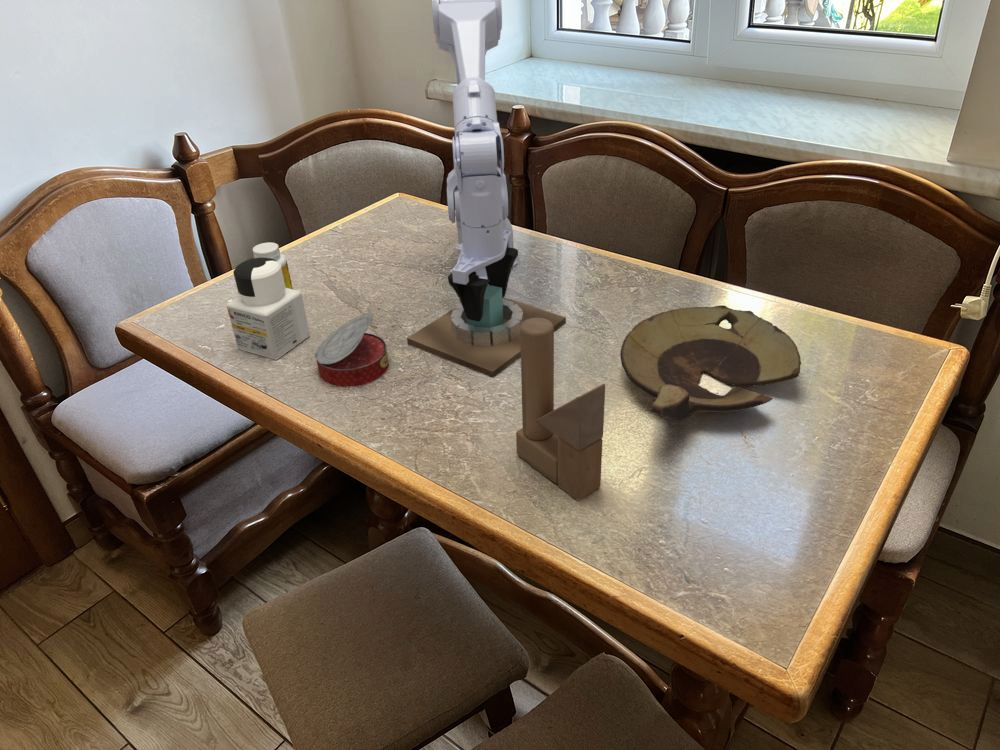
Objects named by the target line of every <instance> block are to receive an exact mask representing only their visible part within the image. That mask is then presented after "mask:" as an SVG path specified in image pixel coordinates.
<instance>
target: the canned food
mask: <svg viewBox="0 0 1000 750" xmlns="http://www.w3.org/2000/svg"><path fill="white" fill-rule="evenodd" d="M373 318H374V313H373V312H371V311H370V312H367V313H364V314H363V313H362V315H360V316H357V317H355V318H352V319H351V320H349V321H348V322H346V323H344V324H342V325H341V326H339V327H338V328H337V329H336V330H334V331H333V332H331V333H330V334H329V335H328V336H327V338H325V340H324V341H322V342H321V343H320V345H319V346H318V348H317V349H316V351H315V356H314V357H315V360H316V364H317V369H318V375H319V377H320V378H322V379H323V380H324V382H325V383H326V382H327V384H328V383H329V384H328V385H330V384H331V385H330V386H334V385H335V387H339V386H341V387H342V388H351V387H350V386H354V387H359V385H360V386H364V385H367V384H370V383H373V382H374V381H377V380H378V379H380V378H381V377H382V376H383V375H385V374H386V373H387V371H388V369H389V365H390V364H389V363H390V362H389V357H388V355H389V354H388V348H387V343H386V342H385V340H384V339H383V338H381V336H378V335H376V334H373V333H370V332H369V333H368V332H366V331H367V330H368V329H369V327H370V326H371V325H372V323H373ZM379 377H380V378H379ZM322 379H321V380H322ZM376 379H377V380H376ZM323 380H322V381H323ZM347 386H348V387H347Z"/></svg>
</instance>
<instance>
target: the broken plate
mask: <svg viewBox="0 0 1000 750" xmlns="http://www.w3.org/2000/svg"><path fill="white" fill-rule="evenodd" d="M723 321H727V322H728V324H730V325H731V326H730V328H726V327H722V326H720V324H721V323H722V322H723ZM793 340H794V339H792V338H791V336H790V335H789V334H787V333H786V332H785V331H783V330H782V329H781V328H779V327H778V326H777V325H773V323H772V322H770V321H768V320H765V319H764V318H762V317H759V316H758V315H756V314H755V313H754V312H753V311H752V310H741V309H733V308H730V307H728V306H726V305H722V304H721V305H715V306H693V307H682V308H681V307H679V308H676V309H671V310H667V311H662V312H660V313H659V312H658V313H656V314H654V315H651V316H650V317H647V318H645V319H643V320H640V321H639V322H638V323H637V324H635V326H633V328H632V330H630V331H629V332H628V333H627V335H626V336H625V337H624V340H623V342H622V344H621V348H620V363H621V366H622V368H623V369H622V370H624V372H625V374H626V376H627V377H628V379H629V380H630V381H631V382H632V384H634V385H635V386H636V387H637V388H638V389H640V390H642V391H643V392H645V393H646V394H648V395H649V396H650V397H652V398H653V399H655V400H654V401H653V402H652V404H651V409H650V411H651V412H652V414H655V415H658V416H661V417H664V418H667V419H668V420H671V421H673V422H682V421H684V420H686V419H687V418H688V417H689V416H691V415H692V414H695V413H701V412H703V413H704V412H705V413H706V412H712V413H713V412H716V413H721V412H722V413H727V412H736V411H737V412H738V411H742V410H747V409H751V408H755V407H758V406H761V405H764V404H767V403H769V402H771V401H772V400H773V397H772V396H769V395H765V394H764V393H757V392H755V391H750V390H748V389H746V388H750V387H751V388H752V387H756V386H766V385H770V384H775V383H782V382H785V381H790V380H792V379H796V378H798V377H799V375H800V372H801V365H802V361H801V355H800V352H799V350H798V349H799V348H798V346H797V344H796V343H795V341H793ZM703 373H707V374H708V375H710V376H711V377H713V378H715V379H716V380H718V381H720V382H722V383H724V384H726V385H729V386H733V387H732V388H731V389H729V391H728V392H726V393H725V394H723V395H719V393H718V392H715V393H714V392H711V391H710V390H709V389H707V388H705V387H702V386H701V385H699V383H700V380H701V377H702V374H703ZM742 387H744V388H745V389H744V388H742Z"/></svg>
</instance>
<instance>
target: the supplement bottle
mask: <svg viewBox="0 0 1000 750" xmlns="http://www.w3.org/2000/svg"><path fill="white" fill-rule="evenodd" d="M252 253H253V258H261V257H262V258H271V259H275V260H276V261H278V262H279V263H280V264H281V269H282V273H283V278H284V283H285V287H286V288H289V289H293V284H292V279H291V274H290V269H289V265H288V261H287V257H286V256H285V255H284V254H282V253H281V251H280V247H279V244H277V243H275V242H262V243H259V244H256V245H255V246H253V247H252ZM293 290H294V289H293Z"/></svg>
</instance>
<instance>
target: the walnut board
mask: <svg viewBox="0 0 1000 750" xmlns="http://www.w3.org/2000/svg"><path fill="white" fill-rule="evenodd" d="M502 299H505V300H508V301H511V302H514V303H515V304H517V305H518V306H519V307H520V308H521V309H522V310H523V322H524V321H525V320H527V319H530V318H544V319H547V320H549V321H551V322H552V324H553V326H554V333H555V332H556V331H558V330H560V328H561V327H563V326H564V325H565V324H566V323H567V320H566V319H567V317H566V316H563V315H559V314H557V313H555V312H554V313H553V312H551V311H548V310H546V309H545V310H544V309H542V308H538V307H535V306H532V305H529V304H526V303H523V302H519V301H517V300H513V299H512V298H511V299H510V298H508V297H506V296H505V297H504V298H502ZM461 304H462V303H460V304H459V305H461ZM453 310H455V309H454V308H452V309H451V310H450V311H448V312H446V313H444V314H443V315H441V316H439V317H438V318H436V319H435V320H434V321H432V322H430V323H429V324H427V325H425V326H424V327H422V328H420V329H419V330H417V331H415V332H414V333H413V334H411V335H410V336H408V337H406V342H407V345H410V346H412V347H414V348H418V349H420V350H421V351H425V352H427V353H429V354H432V355H435V356H437V357H440V358H442V359H444V360H447V361H449V362H450V361H451V362H452V363H455V364H457V365H460V366H463V367H464V368H468V369H469V370H473V371H475V372H478V373H480V374H482V375H485V376H487V377H490V378H493V379H494V378H495V377H496V376H497V375H499V374H500V373H502V372H503V371H504V370H505V369H507V368H508V367H510V366H511V365H512V364H513V363H515V362H516V361H518V360H519V359H521V346H520V335H519V336H517V337H516V338H515V339H513V340H512V341H509V342H507V343H503V344H499V345H495V346H493V345H492V344H491V346H474V344H472V345H470V344H467V343H464V342H462V341H459V339H457V338H456V337H455V336H454V334H453V333H452V330H451V319H450V317H451V314H452V312H453ZM507 321H509V320H508V319H507V318H504V317H503V324H504V323H506V322H507ZM465 323H466V324H467V322H465ZM503 324H502V325H503Z"/></svg>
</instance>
